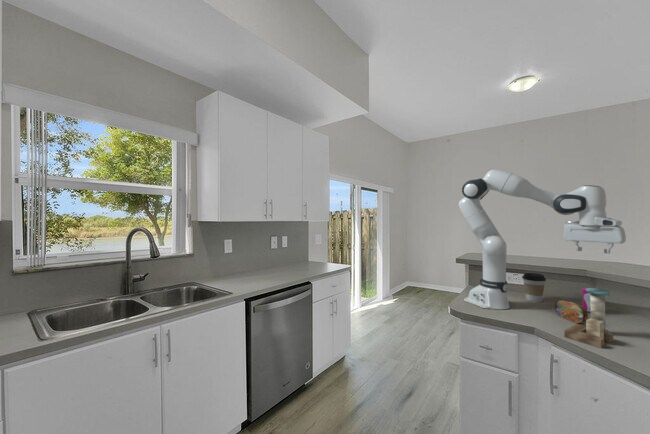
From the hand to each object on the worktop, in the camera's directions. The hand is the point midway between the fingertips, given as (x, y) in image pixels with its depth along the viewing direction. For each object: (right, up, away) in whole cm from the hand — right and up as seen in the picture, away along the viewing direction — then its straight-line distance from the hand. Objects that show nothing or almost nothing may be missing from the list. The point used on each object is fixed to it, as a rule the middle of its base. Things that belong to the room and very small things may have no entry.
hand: (592, 252), depth 124 cm
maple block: (-13, -33, -15) cm, 39 cm away
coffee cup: (+2, -33, +37) cm, 50 cm away
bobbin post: (-5, -33, -7) cm, 34 cm away
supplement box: (+16, -33, +18) cm, 41 cm away
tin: (-3, -33, +7) cm, 34 cm away
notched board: (-14, -33, -13) cm, 38 cm away
